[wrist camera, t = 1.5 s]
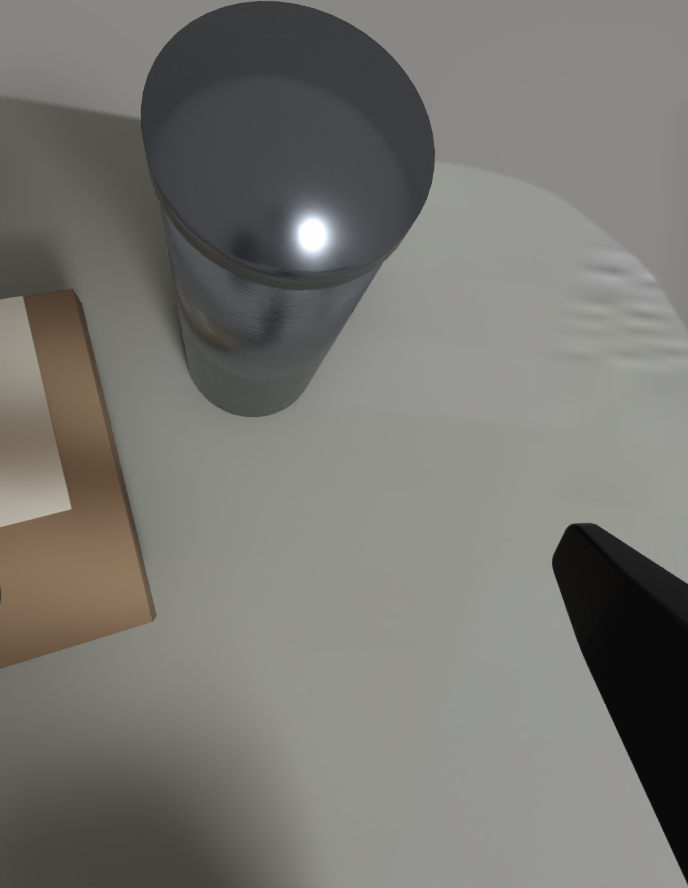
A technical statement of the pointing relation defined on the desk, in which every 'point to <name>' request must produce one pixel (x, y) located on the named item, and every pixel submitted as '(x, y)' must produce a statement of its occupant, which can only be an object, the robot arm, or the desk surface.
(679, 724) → the robot arm
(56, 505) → the frame
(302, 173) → the canister
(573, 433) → the desk surface
